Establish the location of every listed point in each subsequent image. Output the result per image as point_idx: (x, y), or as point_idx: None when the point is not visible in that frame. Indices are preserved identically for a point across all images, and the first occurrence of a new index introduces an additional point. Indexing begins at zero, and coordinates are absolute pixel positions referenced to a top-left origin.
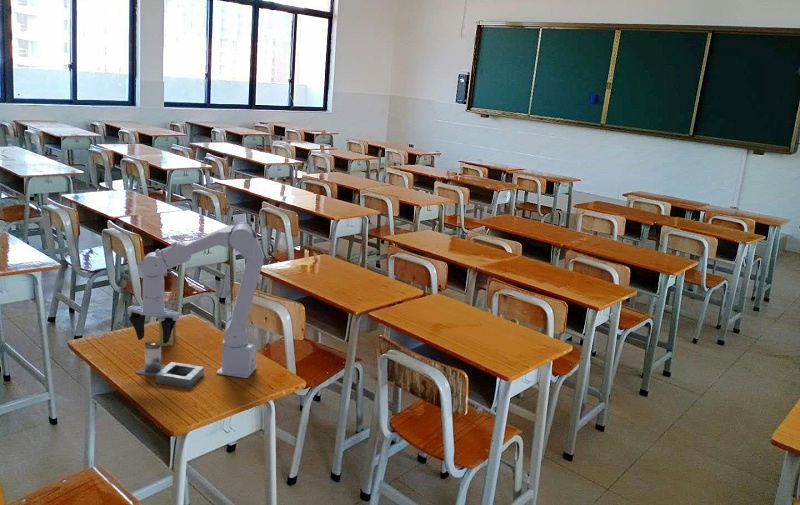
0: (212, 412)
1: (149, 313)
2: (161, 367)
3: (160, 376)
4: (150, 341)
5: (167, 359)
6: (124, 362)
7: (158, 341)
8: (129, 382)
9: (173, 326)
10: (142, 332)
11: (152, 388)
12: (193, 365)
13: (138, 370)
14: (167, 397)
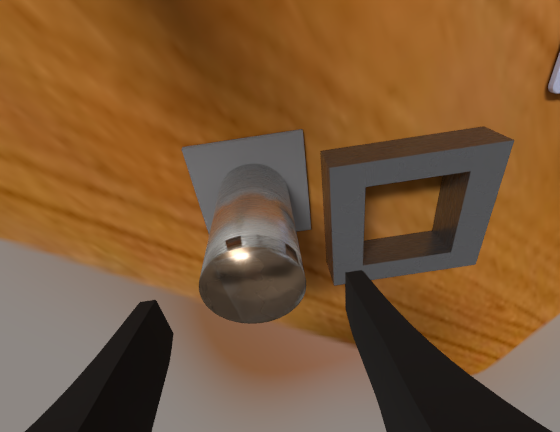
0: (548, 312)
1: None
2: (272, 160)
3: None
4: (211, 270)
5: (225, 41)
6: (80, 182)
7: (259, 248)
8: None
9: (464, 373)
10: (145, 353)
11: (337, 289)
12: (455, 150)
13: (208, 226)
14: (405, 306)
